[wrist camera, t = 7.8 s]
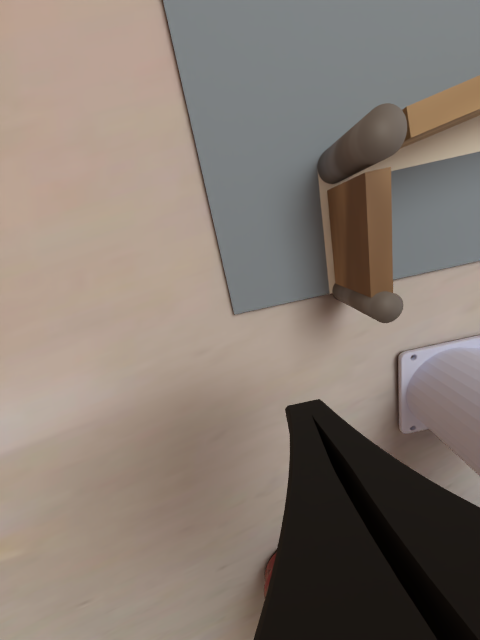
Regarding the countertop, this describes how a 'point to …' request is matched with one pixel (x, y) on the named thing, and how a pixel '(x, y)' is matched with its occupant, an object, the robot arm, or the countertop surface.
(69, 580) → the countertop surface
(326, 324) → the countertop surface
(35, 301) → the countertop surface
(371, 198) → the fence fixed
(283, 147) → the mat
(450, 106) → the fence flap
